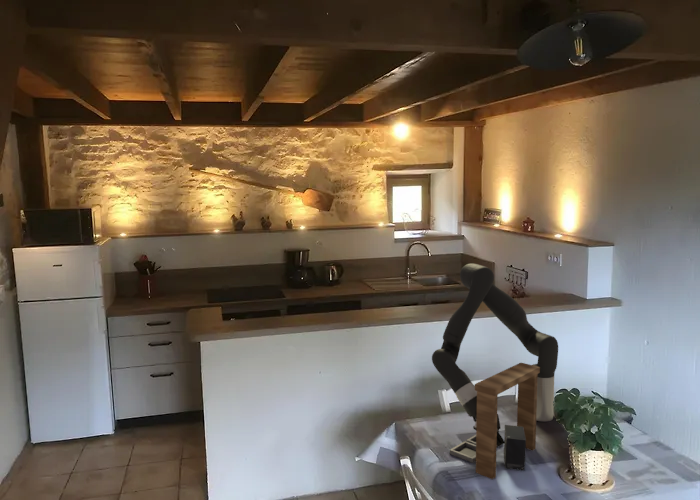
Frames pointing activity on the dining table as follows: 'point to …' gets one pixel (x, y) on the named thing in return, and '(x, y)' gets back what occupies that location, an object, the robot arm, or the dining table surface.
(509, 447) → the small box
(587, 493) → the dining table surface
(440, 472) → the dining table surface
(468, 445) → the tray
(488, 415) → the tunnel
